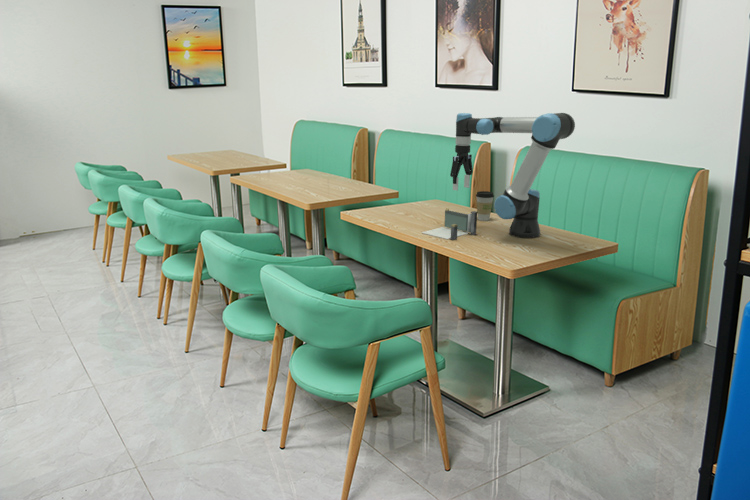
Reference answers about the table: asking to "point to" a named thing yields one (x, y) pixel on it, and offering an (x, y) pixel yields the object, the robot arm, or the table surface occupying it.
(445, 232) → the mat
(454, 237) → the post
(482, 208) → the coffee cup
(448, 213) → the gate
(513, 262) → the table surface
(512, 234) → the robot arm
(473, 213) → the hinge post
